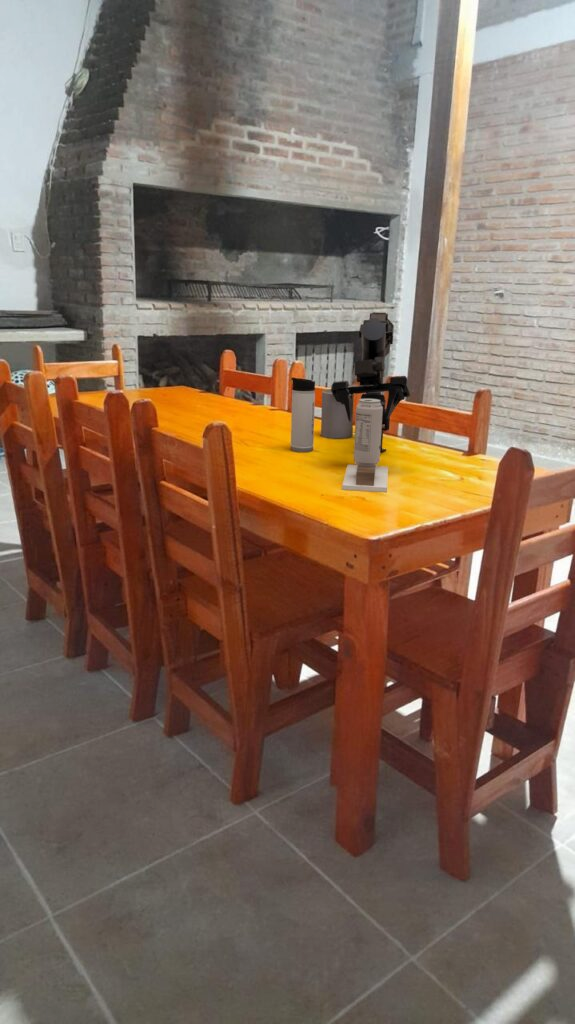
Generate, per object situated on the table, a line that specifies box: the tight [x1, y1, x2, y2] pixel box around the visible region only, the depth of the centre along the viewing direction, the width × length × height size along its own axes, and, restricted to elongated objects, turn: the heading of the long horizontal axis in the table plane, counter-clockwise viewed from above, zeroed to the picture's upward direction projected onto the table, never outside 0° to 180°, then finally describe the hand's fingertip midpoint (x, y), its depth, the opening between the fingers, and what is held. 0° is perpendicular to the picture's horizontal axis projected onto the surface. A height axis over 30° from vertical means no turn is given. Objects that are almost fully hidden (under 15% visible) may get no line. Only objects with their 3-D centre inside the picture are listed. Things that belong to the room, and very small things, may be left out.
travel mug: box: [290, 377, 316, 453], centre depth 197 cm, size 6×7×20 cm
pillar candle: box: [320, 388, 355, 440], centre depth 218 cm, size 10×10×15 cm
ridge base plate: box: [341, 464, 389, 493], centre depth 170 cm, size 20×10×1 cm, turn 172°
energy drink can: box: [353, 398, 383, 467], centre depth 166 cm, size 6×6×15 cm
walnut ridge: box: [356, 466, 376, 486], centre depth 170 cm, size 18×4×3 cm, turn 172°
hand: (368, 419), depth 173 cm, fingers open, 9 cm apart
